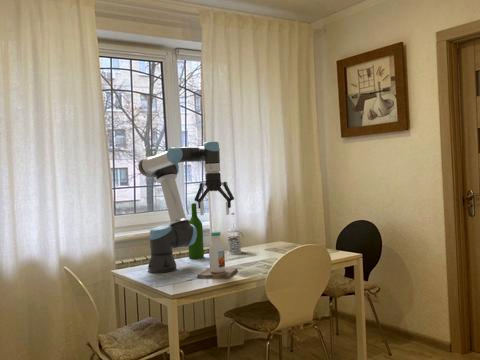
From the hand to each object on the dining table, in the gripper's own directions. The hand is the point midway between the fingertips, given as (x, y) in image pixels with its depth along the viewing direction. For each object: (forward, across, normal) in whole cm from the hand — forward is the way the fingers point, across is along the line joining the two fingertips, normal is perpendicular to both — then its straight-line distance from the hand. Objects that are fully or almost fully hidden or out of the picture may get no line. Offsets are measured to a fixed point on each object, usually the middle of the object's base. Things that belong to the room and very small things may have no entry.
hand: (214, 214), depth 244 cm
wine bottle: (+30, -27, +41) cm, 58 cm away
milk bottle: (+29, 0, 0) cm, 29 cm away
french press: (+30, -7, +58) cm, 66 cm away
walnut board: (+30, 0, 0) cm, 30 cm away
